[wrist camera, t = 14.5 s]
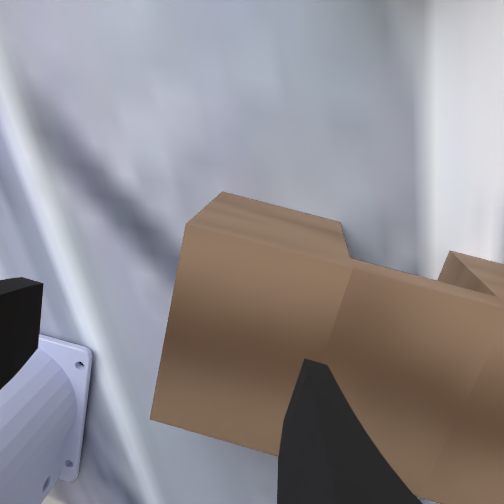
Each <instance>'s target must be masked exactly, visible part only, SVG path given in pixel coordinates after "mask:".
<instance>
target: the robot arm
mask: <svg viewBox="0 0 504 504" xmlns="http://www.w3.org/2000/svg"><path fill="white" fill-rule="evenodd" d="M42 295H43V283H40V282H37V281H33V280H30V279H26V278H23V277H21V278H11V279H5V280H0V504H41V503H42V501H43V500H44V498H45V497H46V496H47V494H48V493H49V491H50V490H51V488H52V487H53V485H54V484H55V483H56V481H57V480H58V479H59V480H63V481H66V482H73V481H75V479H76V478H77V476H78V474H79V466H80V458H81V449H82V441H83V433H84V424H85V416H86V408H87V400H88V391H89V383H90V375H91V366H92V358H93V356H92V352H91V351H90V350H89V349H88V348H86V347H84V346H80V345H77V344H73V343H69V342H66V341H62V340H59V339H55V338H52V337H48V336H45V335H41V334H39V331H40V319H41V307H42ZM79 362H82V363H83V364H84V366H82V365H81V364H80V363H79ZM277 504H422V503H421V502H420V501H419V500H418V499H417V497H416V496H415V495H414V494H413V493H412V492H411V491H410V489H409V488H408V487H407V486H406V485H405V483H404V482H403V481H402V480H401V478H400V477H399V476H398V475H397V473H396V472H395V471H394V470H393V469H392V467H391V466H390V465H389V463H388V462H387V461H386V459H385V458H384V457H383V455H382V454H381V453H380V451H379V450H378V448H377V447H376V445H375V444H374V443H373V441H372V440H371V438H370V437H369V435H368V434H367V432H366V431H365V429H364V428H363V426H362V425H361V423H360V422H359V420H358V418H357V417H356V415H355V413H354V412H353V410H352V408H351V407H350V405H349V403H348V402H347V400H346V398H345V396H344V394H343V393H342V391H341V389H340V387H339V385H338V383H337V382H336V380H335V378H334V376H333V374H332V372H331V371H330V369H329V367H328V365H326V364H323V363H319V362H316V361H312V360H309V359H305V358H304V361H303V364H302V367H301V370H300V373H299V376H298V379H297V382H296V385H295V388H294V391H293V394H292V397H291V400H290V403H289V406H288V409H287V412H286V415H285V418H284V421H283V428H282V434H281V441H280V449H279V456H278V490H277Z"/></svg>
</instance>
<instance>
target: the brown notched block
mask: <svg viewBox="0 0 504 504" xmlns="http://www.w3.org/2000/svg"><path fill="white" fill-rule="evenodd" d="M304 358H305V359H309V360H312V361H316V362H319V363H323V364H326V365H328V367H329V369H330V371H331V372H332V374H333V376H334V378H335V380H336V382H337V383H338V385H339V387H340V389H341V391H342V393H343V394H344V396H345V398H346V400H347V402H348V403H349V405H350V407H351V408H352V410H353V412H354V413H355V415H356V417H357V418H358V420H359V422H360V423H361V425H362V426H363V428H364V429H365V431H366V432H367V434H368V435H369V437H370V438H371V440H372V441H373V443H374V444H375V445H376V447H377V448H378V450H379V451H380V453H381V454H382V455H383V457H384V458H385V459H386V461H387V462H388V463H389V465H390V466H391V467H392V469H393V470H394V471H395V472H396V473H397V475H398V476H399V477H400V478H401V480H402V481H403V482H404V483H405V485H406V486H407V487H408V488H409V489H410V491H411V492H412V493H413V494H414V495H415V496H417V497H421V498H424V499H428V500H431V501H434V502H438V503H441V504H504V264H500V263H496V262H492V261H488V260H484V259H481V258H477V257H473V256H469V255H465V254H461V253H457V252H454V251H450V252H449V254H448V257H447V259H446V261H445V264H444V266H443V269H442V271H441V273H440V276H439V278H438V281H436V280H432V279H428V278H424V277H420V276H417V275H413V274H409V273H405V272H401V271H398V270H394V269H390V268H386V267H382V266H379V265H375V264H371V263H367V262H363V261H359V260H356V259H352V258H350V256H349V252H348V249H347V245H346V241H345V238H344V234H343V231H342V227H341V224H340V222H338V221H334V220H330V219H326V218H322V217H318V216H314V215H311V214H307V213H303V212H299V211H295V210H291V209H287V208H284V207H280V206H276V205H272V204H268V203H264V202H260V201H257V200H253V199H249V198H245V197H241V196H237V195H233V194H230V193H226V192H221V193H220V194H219V195H218V196H217V197H216V198H215V199H214V200H212V201H211V202H210V203H209V204H208V205H207V206H206V207H205V208H203V209H202V210H201V211H200V212H199V213H198V214H197V215H196V216H194V217H193V218H192V219H191V220H190V221H189V222H188V223H187V224H186V226H185V231H184V237H183V242H182V247H181V253H180V258H179V264H178V269H177V274H176V280H175V285H174V290H173V296H172V301H171V307H170V312H169V317H168V323H167V328H166V334H165V339H164V344H163V350H162V355H161V361H160V366H159V371H158V377H157V382H156V387H155V393H154V398H153V404H152V409H151V414H150V420H154V421H157V422H161V423H164V424H168V425H171V426H175V427H178V428H182V429H185V430H188V431H192V432H195V433H199V434H202V435H206V436H209V437H213V438H216V439H220V440H223V441H227V442H230V443H234V444H237V445H240V446H244V447H247V448H251V449H254V450H258V451H261V452H265V453H268V454H272V455H275V456H279V449H280V441H281V434H282V428H283V421H284V418H285V415H286V412H287V409H288V406H289V403H290V400H291V397H292V394H293V391H294V388H295V385H296V382H297V379H298V376H299V373H300V370H301V367H302V364H303V361H304Z"/></svg>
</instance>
